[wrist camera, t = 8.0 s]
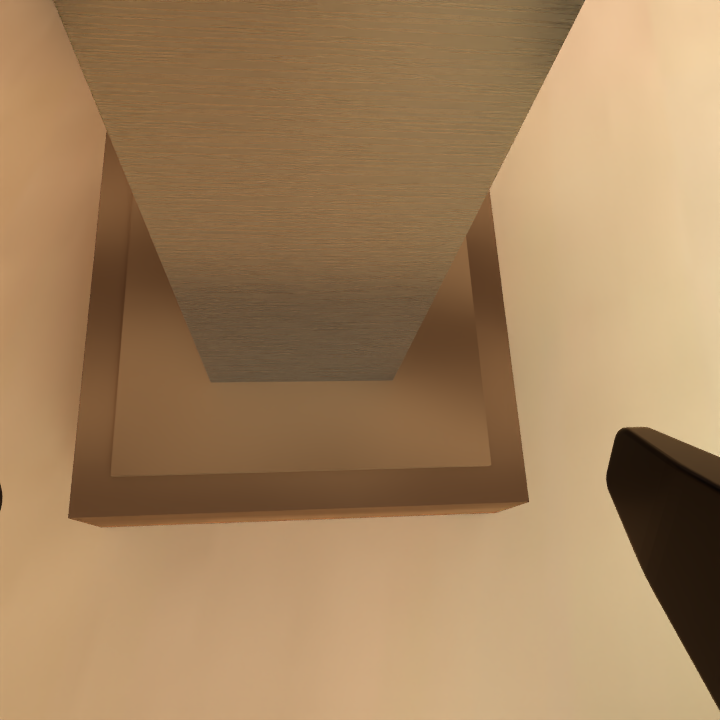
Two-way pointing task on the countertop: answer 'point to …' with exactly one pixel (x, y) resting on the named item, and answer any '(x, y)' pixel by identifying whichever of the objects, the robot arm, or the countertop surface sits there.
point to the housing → (311, 159)
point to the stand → (287, 406)
